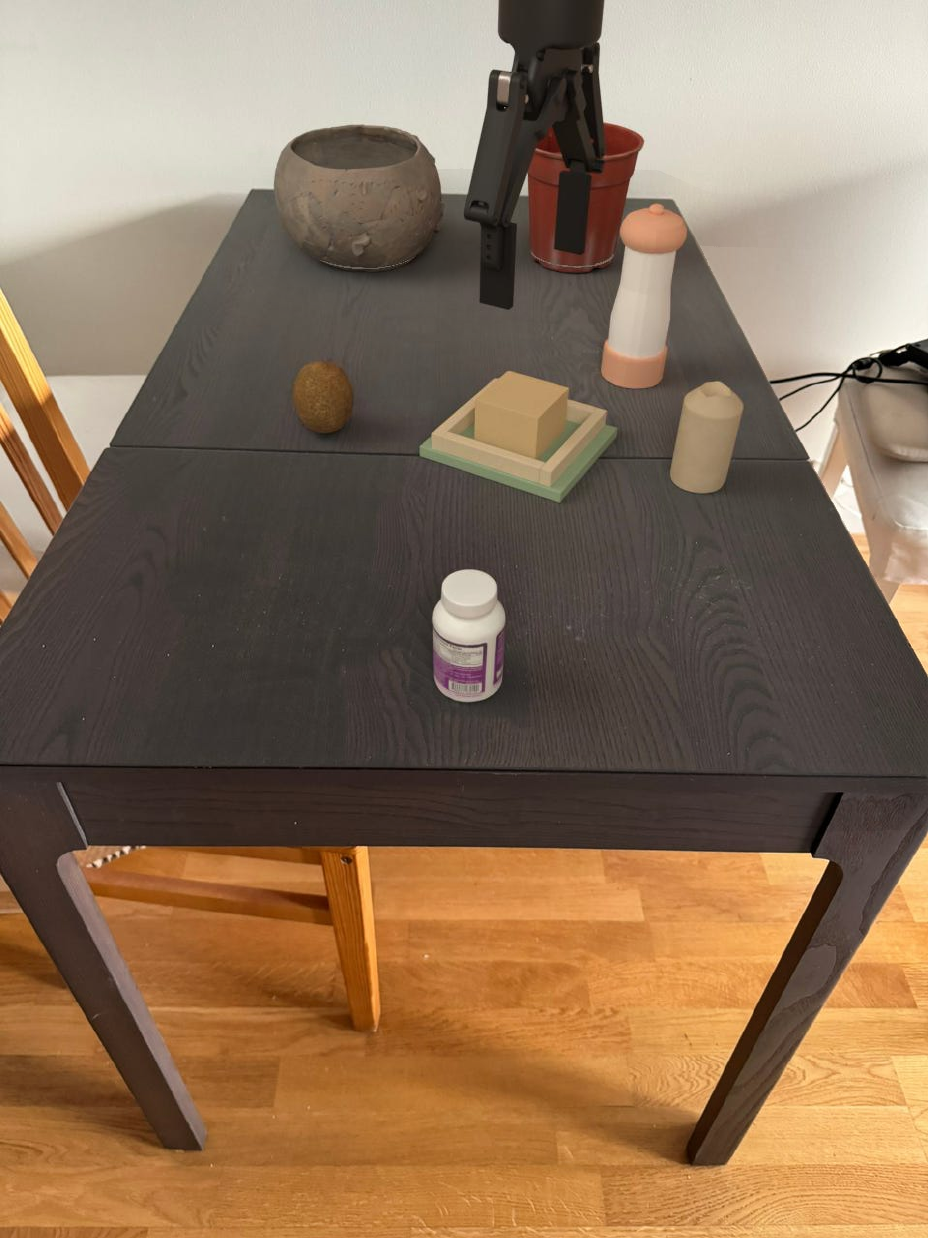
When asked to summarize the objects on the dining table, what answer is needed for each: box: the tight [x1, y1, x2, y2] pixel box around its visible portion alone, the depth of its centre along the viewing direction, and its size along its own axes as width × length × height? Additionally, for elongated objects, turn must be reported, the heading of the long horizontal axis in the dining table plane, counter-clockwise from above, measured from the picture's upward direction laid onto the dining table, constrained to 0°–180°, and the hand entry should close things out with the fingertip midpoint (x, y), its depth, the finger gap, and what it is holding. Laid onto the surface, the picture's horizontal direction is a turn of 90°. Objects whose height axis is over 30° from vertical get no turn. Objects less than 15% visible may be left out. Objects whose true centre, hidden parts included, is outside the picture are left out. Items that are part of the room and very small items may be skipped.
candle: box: [669, 381, 744, 494], centre depth 90 cm, size 6×6×10 cm
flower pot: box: [527, 122, 645, 274], centre depth 129 cm, size 16×16×16 cm
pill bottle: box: [431, 568, 507, 703], centre depth 69 cm, size 5×5×10 cm
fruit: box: [292, 360, 355, 435], centre depth 96 cm, size 6×6×8 cm
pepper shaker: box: [600, 203, 688, 390], centre depth 103 cm, size 7×7×19 cm
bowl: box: [273, 123, 446, 273], centre depth 129 cm, size 23×23×15 cm
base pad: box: [419, 377, 619, 503], centre depth 96 cm, size 16×14×3 cm
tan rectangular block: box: [474, 370, 570, 460], centre depth 95 cm, size 7×7×5 cm
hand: (534, 276), depth 79 cm, fingers open, 13 cm apart
